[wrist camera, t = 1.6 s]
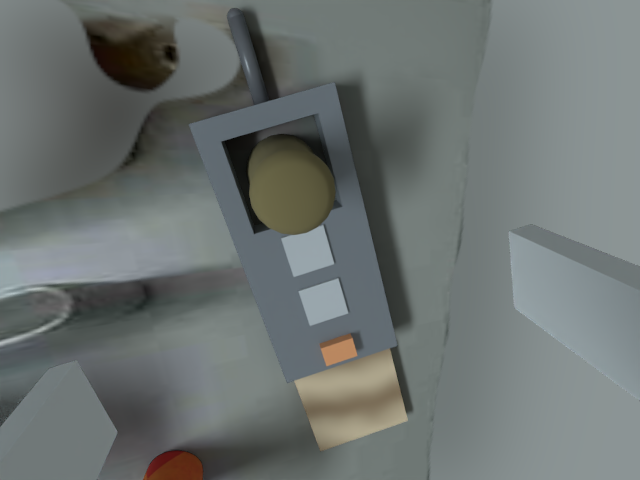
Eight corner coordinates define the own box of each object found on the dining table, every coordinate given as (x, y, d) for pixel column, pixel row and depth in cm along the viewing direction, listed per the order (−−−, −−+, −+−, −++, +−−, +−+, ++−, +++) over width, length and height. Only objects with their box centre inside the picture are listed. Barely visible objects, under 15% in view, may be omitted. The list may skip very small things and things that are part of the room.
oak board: (292, 372, 38) (293, 379, 37) (386, 341, 38) (389, 346, 37) (318, 443, 41) (320, 451, 40) (404, 413, 42) (407, 420, 41)
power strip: (159, 30, 27) (146, 19, 24) (305, -9, 28) (311, -25, 24) (285, 366, 37) (287, 388, 34) (388, 331, 38) (400, 350, 35)
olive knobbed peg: (231, 179, 31) (219, 211, 21) (273, 118, 30) (282, 119, 20) (291, 219, 33) (306, 267, 22) (332, 163, 32) (368, 185, 21)
